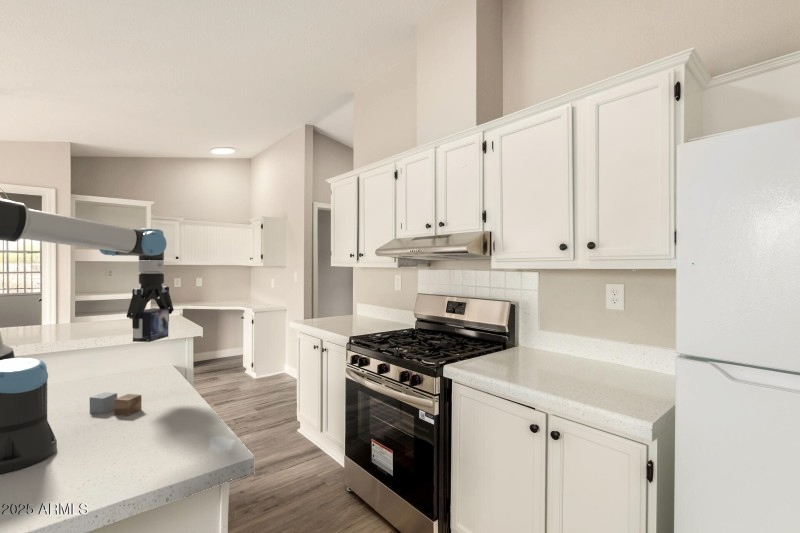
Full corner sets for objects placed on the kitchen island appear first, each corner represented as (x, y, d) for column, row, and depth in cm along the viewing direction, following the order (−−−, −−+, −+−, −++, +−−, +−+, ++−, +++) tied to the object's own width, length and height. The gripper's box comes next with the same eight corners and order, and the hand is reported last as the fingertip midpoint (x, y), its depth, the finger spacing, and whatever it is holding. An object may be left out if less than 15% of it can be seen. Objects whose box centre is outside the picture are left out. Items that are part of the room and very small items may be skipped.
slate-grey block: (103, 414, 122) (103, 398, 122) (89, 413, 123) (89, 397, 123) (117, 408, 127) (117, 393, 127) (104, 407, 128) (104, 392, 128)
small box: (150, 342, 132) (150, 311, 132) (131, 342, 132) (131, 311, 132) (169, 336, 143) (169, 308, 143) (152, 336, 143) (152, 307, 143)
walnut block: (128, 416, 121) (128, 400, 121) (114, 415, 121) (114, 399, 121) (141, 410, 126) (141, 394, 125) (128, 409, 126) (128, 393, 126)
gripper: (133, 273, 125) (133, 341, 125) (184, 272, 148) (184, 329, 149) (112, 273, 126) (113, 340, 127) (167, 271, 150) (167, 328, 150)
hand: (151, 334), depth 138 cm, fingers closed on small box, 11 cm apart
